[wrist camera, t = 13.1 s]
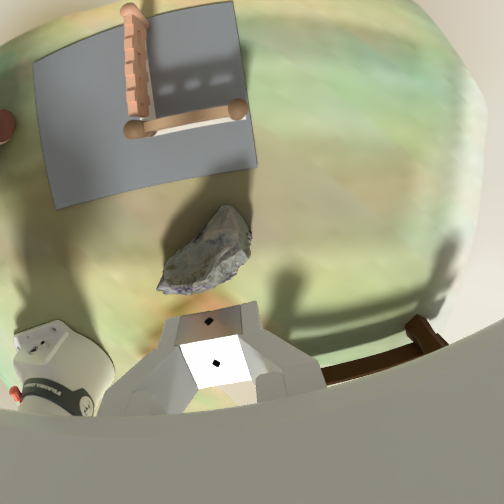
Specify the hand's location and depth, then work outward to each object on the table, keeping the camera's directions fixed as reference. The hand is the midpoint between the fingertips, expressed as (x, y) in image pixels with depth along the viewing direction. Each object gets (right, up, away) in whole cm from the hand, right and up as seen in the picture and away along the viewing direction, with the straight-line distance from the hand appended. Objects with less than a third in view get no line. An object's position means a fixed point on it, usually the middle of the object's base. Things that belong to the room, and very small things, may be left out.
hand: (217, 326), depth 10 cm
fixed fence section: (-6, +18, +23) cm, 30 cm away
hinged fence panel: (-12, +24, +20) cm, 33 cm away
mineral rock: (-5, +3, +30) cm, 31 cm away
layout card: (-14, +21, +22) cm, 33 cm away
